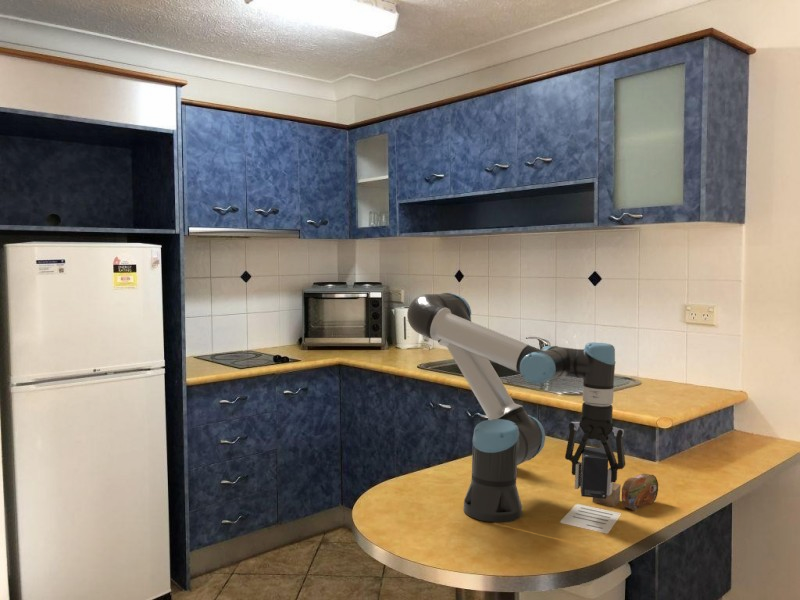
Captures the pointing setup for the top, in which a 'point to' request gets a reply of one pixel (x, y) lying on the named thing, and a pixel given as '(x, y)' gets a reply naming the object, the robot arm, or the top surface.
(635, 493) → the tin
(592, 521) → the letter
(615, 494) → the walnut block
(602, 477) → the small box
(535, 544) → the top surface
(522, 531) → the top surface
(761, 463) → the top surface
